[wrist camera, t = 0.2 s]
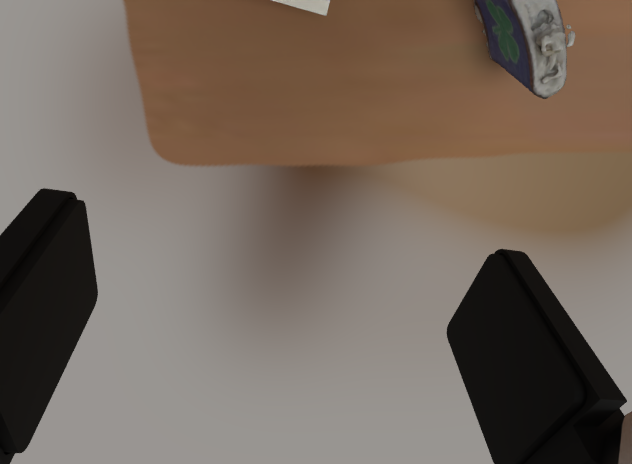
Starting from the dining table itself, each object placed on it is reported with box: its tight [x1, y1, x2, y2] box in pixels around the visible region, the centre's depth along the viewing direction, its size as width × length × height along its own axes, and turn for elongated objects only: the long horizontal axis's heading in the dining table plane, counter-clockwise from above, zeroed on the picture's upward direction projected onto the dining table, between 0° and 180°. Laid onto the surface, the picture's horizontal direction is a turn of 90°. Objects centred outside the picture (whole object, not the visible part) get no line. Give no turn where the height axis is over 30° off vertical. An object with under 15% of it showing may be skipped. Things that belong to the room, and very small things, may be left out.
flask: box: [474, 0, 575, 99], centre depth 31 cm, size 9×3×11 cm, turn 30°
